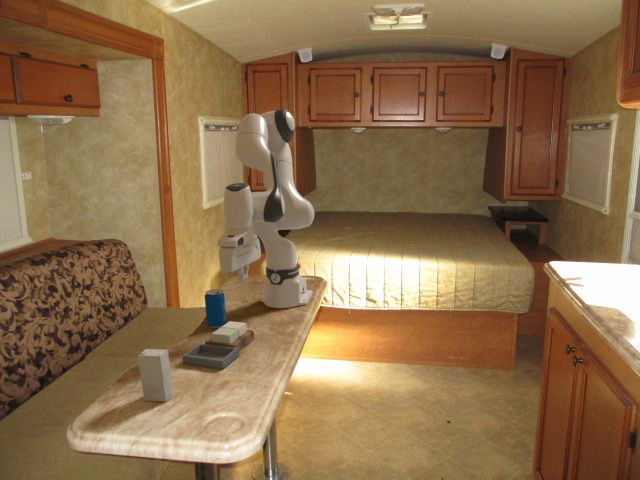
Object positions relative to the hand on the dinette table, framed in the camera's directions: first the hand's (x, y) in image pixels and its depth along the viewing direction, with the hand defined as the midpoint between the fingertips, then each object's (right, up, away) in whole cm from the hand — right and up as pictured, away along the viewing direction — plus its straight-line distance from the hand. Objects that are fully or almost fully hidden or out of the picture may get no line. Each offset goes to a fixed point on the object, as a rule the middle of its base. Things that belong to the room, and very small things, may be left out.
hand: (243, 279), depth 164 cm
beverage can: (-11, -17, +11) cm, 23 cm away
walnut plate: (-3, -20, -6) cm, 21 cm away
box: (-7, -22, -15) cm, 28 cm away
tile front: (-4, -17, -9) cm, 20 cm away
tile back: (-2, -16, -4) cm, 17 cm away
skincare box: (-16, -27, -36) cm, 47 cm away
